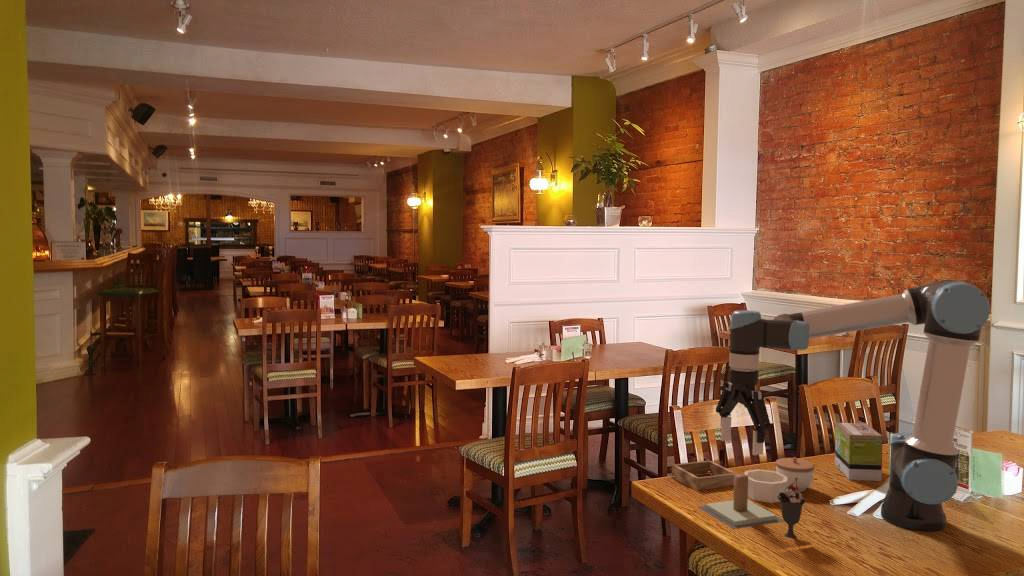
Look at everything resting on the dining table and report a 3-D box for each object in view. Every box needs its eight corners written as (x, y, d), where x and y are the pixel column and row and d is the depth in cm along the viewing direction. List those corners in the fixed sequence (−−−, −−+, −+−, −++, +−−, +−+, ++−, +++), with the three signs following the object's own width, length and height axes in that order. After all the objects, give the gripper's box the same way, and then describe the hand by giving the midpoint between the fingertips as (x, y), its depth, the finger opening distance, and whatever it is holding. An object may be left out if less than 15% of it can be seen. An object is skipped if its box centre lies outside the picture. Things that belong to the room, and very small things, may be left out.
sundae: (803, 534, 181) (805, 476, 180) (805, 545, 175) (807, 485, 174) (776, 531, 183) (777, 473, 182) (776, 541, 177) (778, 481, 176)
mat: (784, 523, 188) (784, 521, 188) (733, 531, 183) (733, 529, 183) (746, 502, 203) (746, 500, 203) (697, 509, 198) (697, 506, 198)
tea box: (833, 465, 237) (834, 421, 236) (865, 466, 236) (867, 422, 235) (848, 480, 222) (849, 433, 221) (882, 482, 221) (884, 434, 220)
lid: (776, 519, 189) (777, 481, 188) (734, 526, 185) (735, 486, 184) (745, 502, 201) (746, 466, 201) (705, 508, 197) (706, 471, 196)
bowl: (795, 501, 204) (796, 480, 204) (761, 506, 200) (761, 485, 200) (768, 487, 215) (768, 468, 215) (735, 492, 212) (735, 472, 211)
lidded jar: (819, 495, 210) (820, 463, 209) (782, 494, 210) (783, 463, 209) (805, 482, 220) (806, 452, 220) (770, 482, 220) (770, 452, 220)
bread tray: (737, 486, 216) (737, 473, 216) (697, 492, 211) (697, 478, 211) (709, 472, 229) (710, 460, 229) (671, 477, 225) (671, 464, 224)
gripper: (787, 376, 180) (784, 459, 181) (727, 360, 204) (724, 433, 205) (763, 378, 178) (759, 462, 179) (704, 361, 201) (702, 435, 203)
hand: (741, 447), depth 192 cm, fingers open, 13 cm apart
